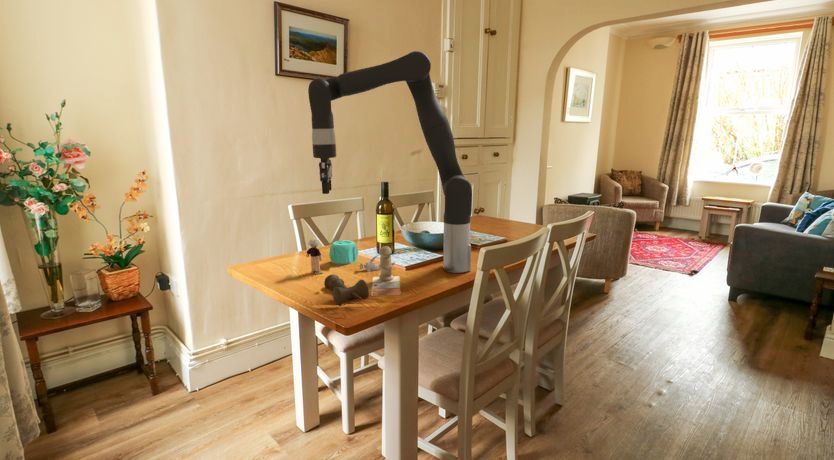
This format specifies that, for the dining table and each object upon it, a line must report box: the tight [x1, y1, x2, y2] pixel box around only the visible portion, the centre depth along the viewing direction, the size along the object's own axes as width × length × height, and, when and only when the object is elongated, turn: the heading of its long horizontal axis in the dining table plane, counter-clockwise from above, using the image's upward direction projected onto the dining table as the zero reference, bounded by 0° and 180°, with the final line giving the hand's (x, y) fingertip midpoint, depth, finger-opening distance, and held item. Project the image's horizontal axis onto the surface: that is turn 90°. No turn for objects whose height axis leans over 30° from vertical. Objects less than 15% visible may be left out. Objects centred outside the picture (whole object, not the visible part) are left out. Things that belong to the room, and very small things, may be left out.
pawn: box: [378, 245, 394, 281], centre depth 146 cm, size 4×4×11 cm
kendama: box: [323, 273, 370, 306], centre depth 133 cm, size 6×10×20 cm
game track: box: [370, 275, 401, 297], centre depth 141 cm, size 10×18×1 cm, turn 3°
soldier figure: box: [359, 255, 396, 273], centre depth 157 cm, size 8×5×12 cm
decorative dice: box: [329, 239, 359, 265], centre depth 168 cm, size 8×8×8 cm
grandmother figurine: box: [306, 237, 324, 275], centre depth 156 cm, size 8×4×13 cm, turn 65°
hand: (327, 192), depth 150 cm, fingers open, 8 cm apart
